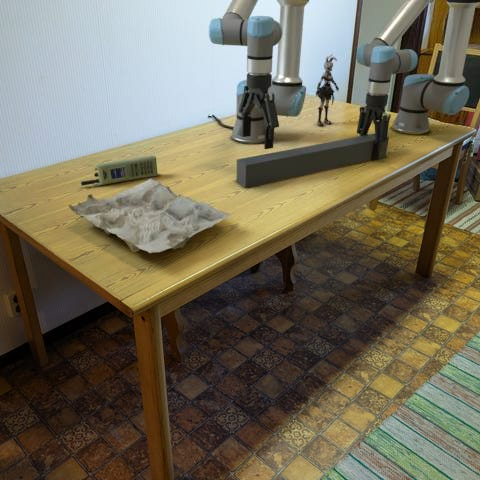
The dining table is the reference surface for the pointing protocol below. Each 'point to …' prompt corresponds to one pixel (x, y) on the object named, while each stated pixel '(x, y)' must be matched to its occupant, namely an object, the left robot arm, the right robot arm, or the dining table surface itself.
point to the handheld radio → (124, 170)
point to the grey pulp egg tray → (149, 216)
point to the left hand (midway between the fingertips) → (257, 142)
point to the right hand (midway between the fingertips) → (368, 156)
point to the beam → (306, 160)
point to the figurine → (326, 90)
